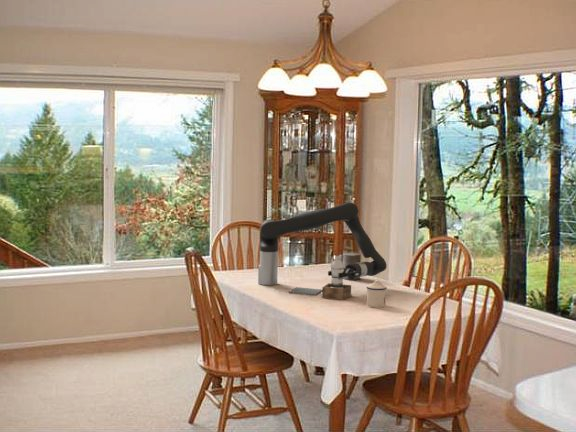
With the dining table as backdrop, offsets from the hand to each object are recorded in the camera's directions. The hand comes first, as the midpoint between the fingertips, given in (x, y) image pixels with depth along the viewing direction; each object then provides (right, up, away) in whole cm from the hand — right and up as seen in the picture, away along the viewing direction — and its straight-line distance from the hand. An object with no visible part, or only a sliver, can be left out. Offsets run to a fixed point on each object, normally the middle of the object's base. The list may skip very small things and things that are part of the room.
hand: (334, 274), depth 340 cm
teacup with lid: (+18, -13, -13) cm, 26 cm away
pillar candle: (+12, -6, +49) cm, 51 cm away
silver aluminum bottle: (+1, -11, +3) cm, 11 cm away
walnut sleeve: (+1, -11, +3) cm, 11 cm away
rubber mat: (-13, -10, +12) cm, 20 cm away
